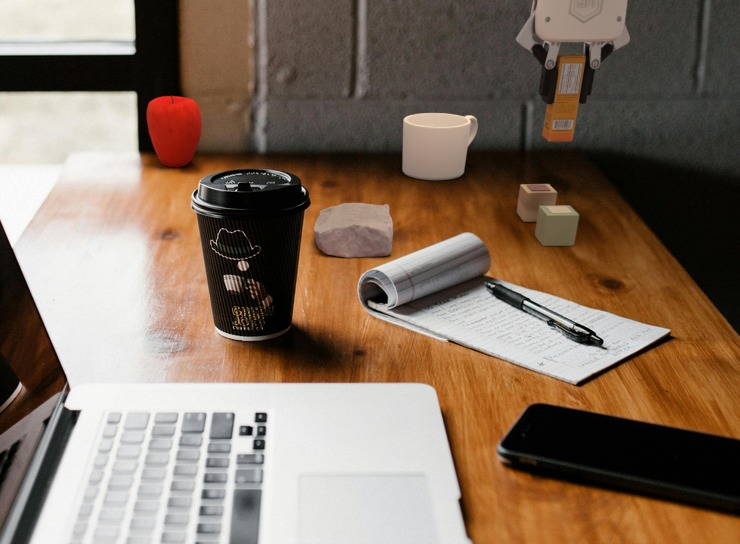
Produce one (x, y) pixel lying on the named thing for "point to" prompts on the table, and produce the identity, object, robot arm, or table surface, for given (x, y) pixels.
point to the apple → (174, 129)
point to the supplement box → (565, 98)
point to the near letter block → (556, 225)
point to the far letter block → (534, 200)
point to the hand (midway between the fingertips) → (563, 100)
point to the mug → (436, 145)
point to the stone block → (355, 230)
